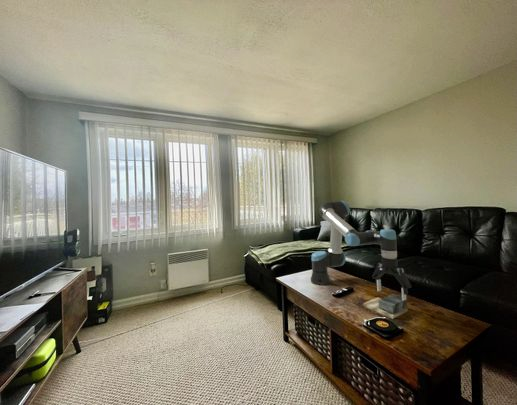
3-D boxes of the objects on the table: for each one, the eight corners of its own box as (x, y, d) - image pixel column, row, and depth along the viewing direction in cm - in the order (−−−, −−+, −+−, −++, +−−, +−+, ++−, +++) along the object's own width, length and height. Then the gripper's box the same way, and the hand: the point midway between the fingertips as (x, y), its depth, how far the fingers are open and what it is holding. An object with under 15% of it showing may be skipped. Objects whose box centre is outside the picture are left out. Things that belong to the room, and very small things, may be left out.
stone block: (376, 308, 117) (376, 299, 117) (391, 301, 124) (390, 292, 124) (393, 315, 109) (392, 305, 109) (407, 307, 116) (406, 297, 116)
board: (363, 305, 124) (363, 303, 124) (378, 299, 130) (377, 297, 130) (392, 318, 108) (392, 315, 109) (407, 311, 115) (407, 308, 115)
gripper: (364, 253, 125) (366, 288, 125) (410, 263, 103) (412, 306, 103) (372, 251, 129) (374, 285, 129) (418, 261, 106) (420, 302, 106)
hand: (391, 295), depth 116 cm, fingers open, 13 cm apart
